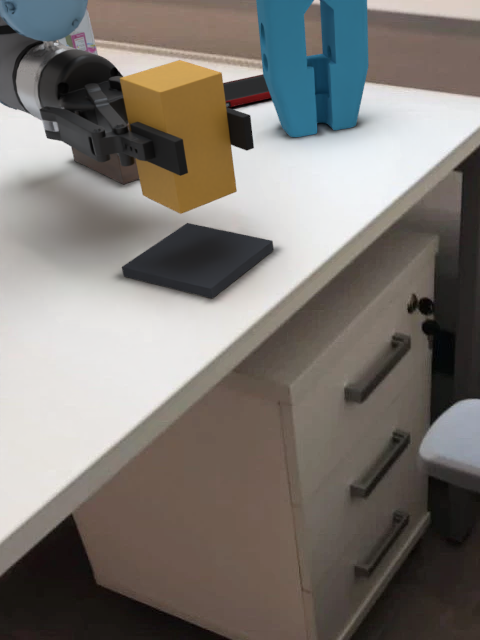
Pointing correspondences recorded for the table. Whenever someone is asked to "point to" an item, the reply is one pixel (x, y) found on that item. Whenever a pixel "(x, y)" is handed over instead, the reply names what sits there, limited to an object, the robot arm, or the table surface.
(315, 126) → the blue slotted bracket
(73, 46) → the ink box
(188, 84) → the ochre block
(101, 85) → the robot arm
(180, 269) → the grey mat
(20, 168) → the table surface
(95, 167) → the walnut block
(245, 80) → the cell phone
